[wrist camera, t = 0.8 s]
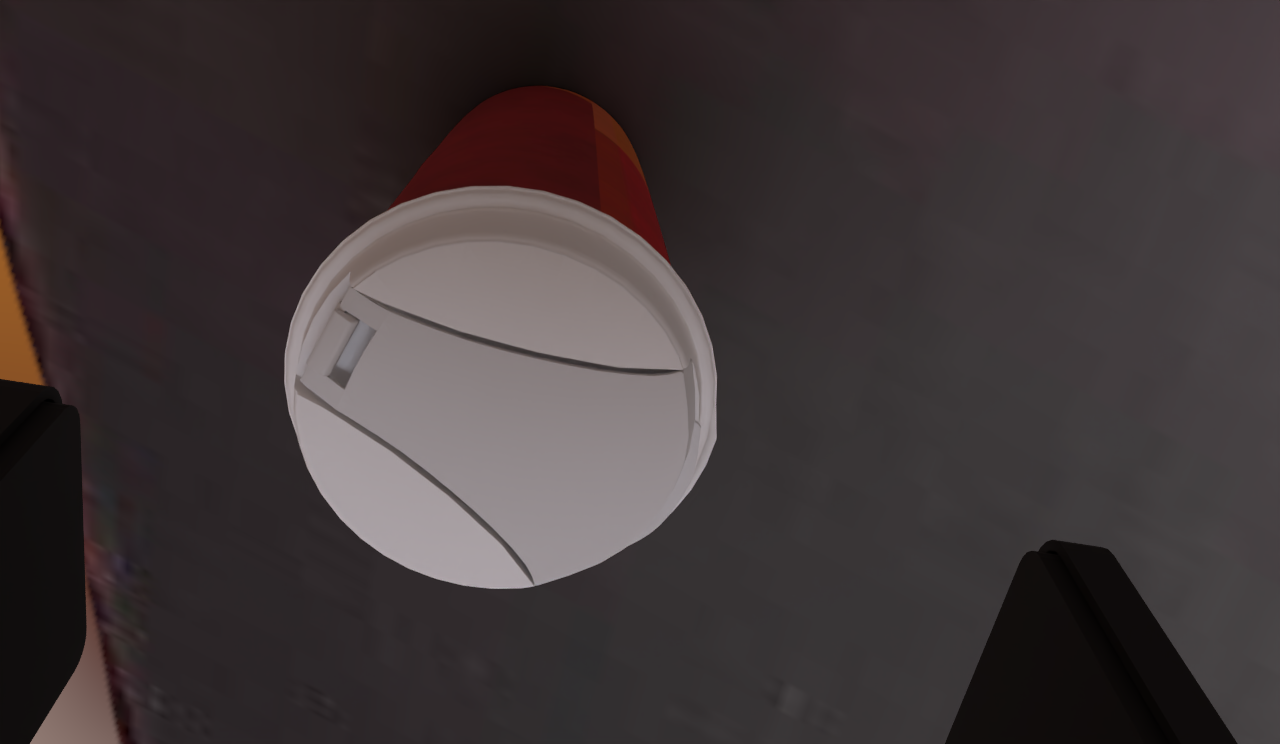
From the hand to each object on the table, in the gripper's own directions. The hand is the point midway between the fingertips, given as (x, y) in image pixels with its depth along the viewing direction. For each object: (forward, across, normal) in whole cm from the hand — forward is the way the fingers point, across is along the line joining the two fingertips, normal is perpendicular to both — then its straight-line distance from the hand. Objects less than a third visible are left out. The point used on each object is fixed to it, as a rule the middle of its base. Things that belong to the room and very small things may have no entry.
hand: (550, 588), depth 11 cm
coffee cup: (+24, +1, +4) cm, 24 cm away
